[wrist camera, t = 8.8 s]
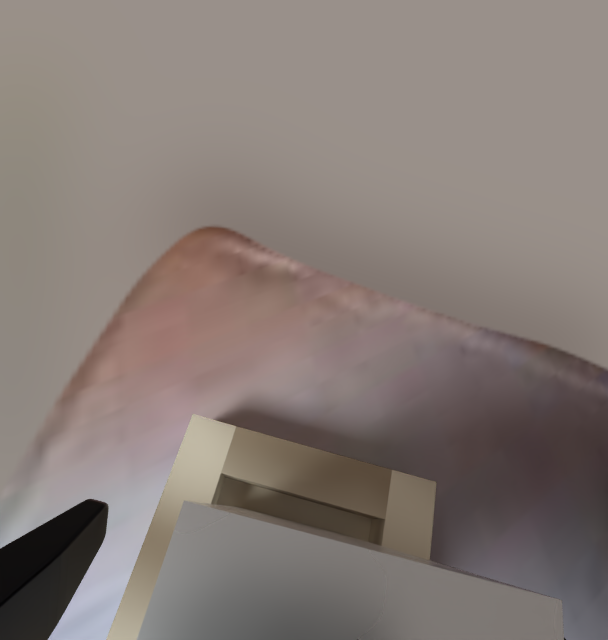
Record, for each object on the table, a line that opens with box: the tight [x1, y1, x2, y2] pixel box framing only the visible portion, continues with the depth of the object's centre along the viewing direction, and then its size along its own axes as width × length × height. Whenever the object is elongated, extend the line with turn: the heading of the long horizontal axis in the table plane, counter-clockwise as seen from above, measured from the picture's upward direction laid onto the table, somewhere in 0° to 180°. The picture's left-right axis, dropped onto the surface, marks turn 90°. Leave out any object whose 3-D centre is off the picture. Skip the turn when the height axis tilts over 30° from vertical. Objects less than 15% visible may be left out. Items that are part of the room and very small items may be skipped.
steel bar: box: [137, 501, 564, 640], centre depth 9 cm, size 4×4×13 cm
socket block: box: [106, 414, 436, 640], centre depth 15 cm, size 10×10×3 cm
